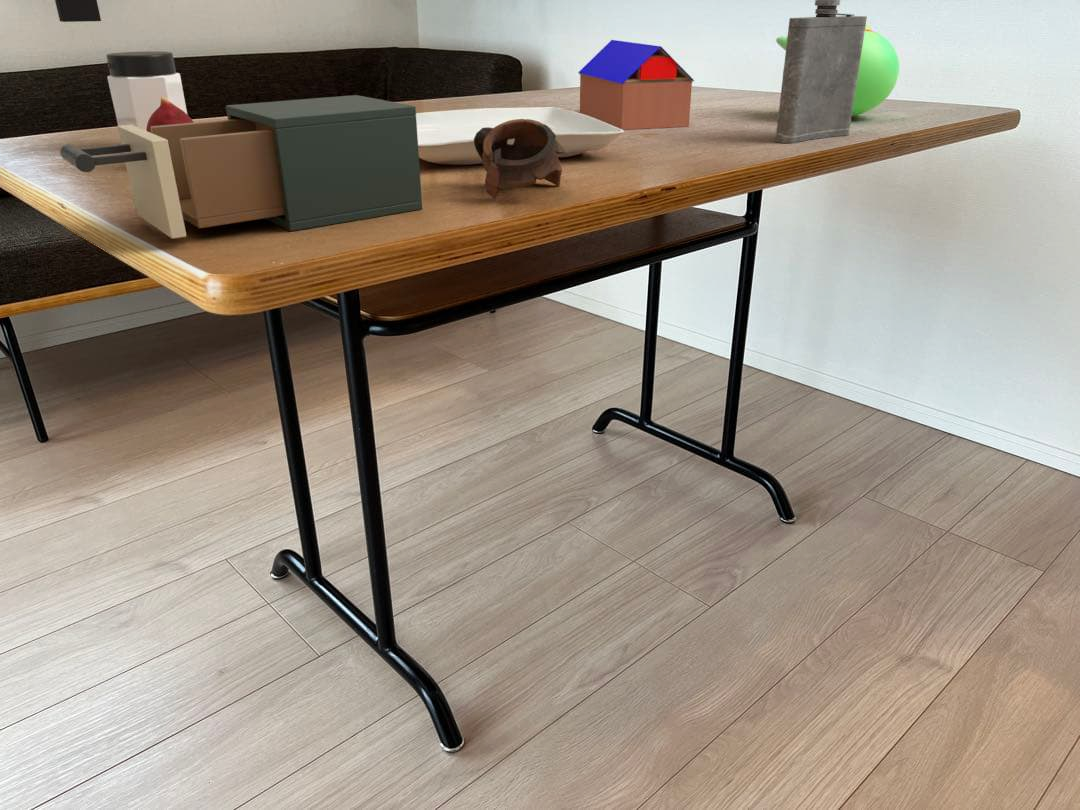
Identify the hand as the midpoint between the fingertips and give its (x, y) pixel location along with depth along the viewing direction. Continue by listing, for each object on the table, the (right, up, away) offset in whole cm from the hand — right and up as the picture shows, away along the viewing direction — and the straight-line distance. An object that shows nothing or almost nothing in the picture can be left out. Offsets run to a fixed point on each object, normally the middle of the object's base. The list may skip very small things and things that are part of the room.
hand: (80, 20), depth 66 cm
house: (+52, +16, +71) cm, 90 cm away
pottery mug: (+34, -8, +23) cm, 42 cm away
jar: (-16, +5, +49) cm, 52 cm away
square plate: (+30, +4, +47) cm, 56 cm away
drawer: (+5, -14, +9) cm, 17 cm away
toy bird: (+85, +18, +73) cm, 114 cm away
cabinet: (+16, -11, +16) cm, 25 cm away
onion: (-8, -1, +37) cm, 38 cm away
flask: (+76, +8, +54) cm, 93 cm away
